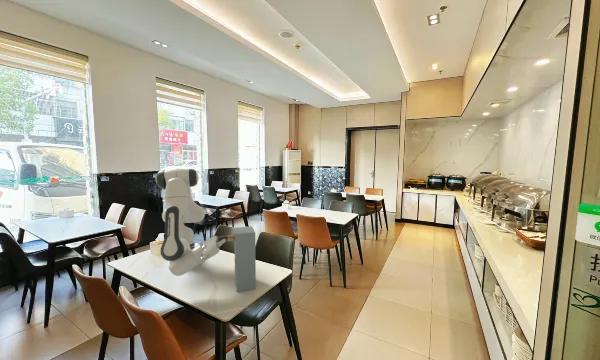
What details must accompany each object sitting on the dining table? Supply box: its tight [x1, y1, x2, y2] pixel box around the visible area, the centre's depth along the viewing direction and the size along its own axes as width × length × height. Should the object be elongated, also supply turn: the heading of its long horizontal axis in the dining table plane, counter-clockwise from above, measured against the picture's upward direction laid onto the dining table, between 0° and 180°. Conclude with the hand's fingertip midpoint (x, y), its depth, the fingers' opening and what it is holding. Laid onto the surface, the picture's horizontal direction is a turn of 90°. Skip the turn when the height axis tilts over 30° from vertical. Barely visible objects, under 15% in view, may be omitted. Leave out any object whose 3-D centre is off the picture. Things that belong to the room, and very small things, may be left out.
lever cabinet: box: [233, 226, 257, 293], centre depth 135 cm, size 13×11×31 cm
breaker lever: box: [217, 234, 235, 243], centre depth 132 cm, size 3×16×3 cm, turn 109°
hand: (225, 238), depth 131 cm, fingers closed on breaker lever, 3 cm apart
